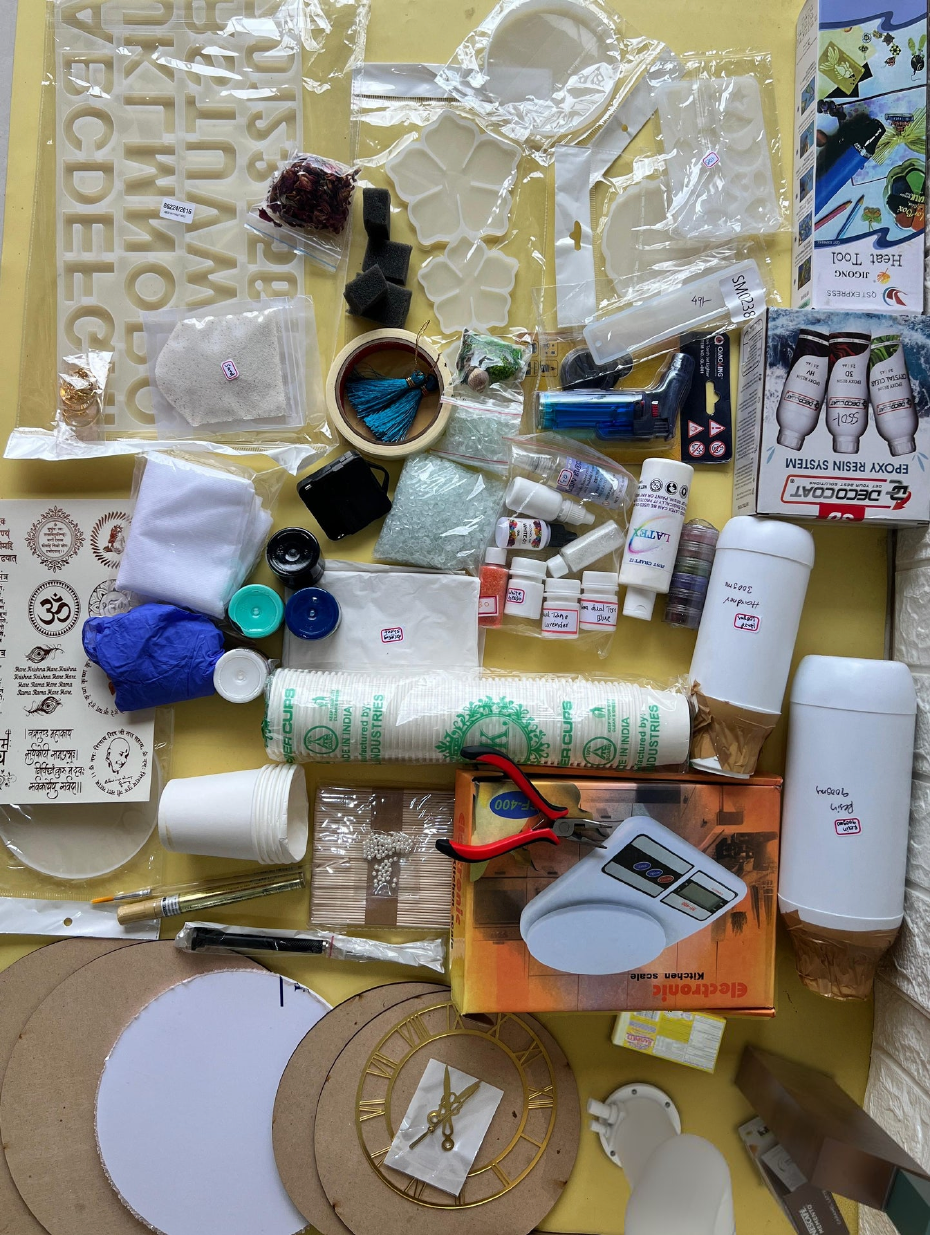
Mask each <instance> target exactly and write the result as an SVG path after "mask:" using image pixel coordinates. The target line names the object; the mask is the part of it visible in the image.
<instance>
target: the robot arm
mask: <svg viewBox="0 0 930 1235" xmlns="http://www.w3.org/2000/svg"><path fill="white" fill-rule="evenodd" d="M586 1112H587V1113H588V1114H590V1115H593V1116H596V1117H598V1120H595V1119H593V1118H591V1119H590V1121H589V1124H588V1128H589V1130H590V1131H593V1132H595V1133H598V1135H599V1139H600V1142H601V1145H602V1148H603V1149H604V1151H605V1153H606V1155H607V1157H609V1159H610V1160H611V1161H612V1162H613V1163H615V1164H616V1165H617V1166H618V1167H619V1168H621V1169H622V1171H623V1173H624V1177H625V1179H626V1182H627V1184H628V1186H629V1189H630V1194H629V1197H628V1200H627V1203H626V1207H625V1212H624V1220H623V1221H624V1223H623V1235H737V1226H736V1221H735V1211H734V1199H733V1198H734V1196H733V1187H732V1186H733V1185H732V1179H731V1178H732V1177H731V1171H730V1168H729V1165H728V1162H727V1160H726V1158H725V1156H724V1155H723V1153H722V1152H721V1151H720V1149H718V1147H717V1146H716V1145H715V1144H713V1142H711V1141H710V1140H708V1139H706V1138H704V1137H703V1136H699V1135H698V1134H697V1135H696V1134H693V1133H692V1134H691V1133H682V1132H681V1131H682V1128H681V1119H680V1115H679V1112H678V1110H677V1108H676V1105H675V1104H674V1102H673V1101H672V1099H671V1098H670V1097H669V1096H668V1095H667V1093H665V1092H664V1091H663V1090H662V1089H660V1088H658V1087H656V1086H654V1085H652V1084H649V1083H643V1082H636V1083H629V1084H626V1085H623V1086H621V1087H619V1088H618V1089H616V1090H615V1091H614V1092H612V1093H611V1094H610V1095H609V1097H608V1098H607V1099H606V1100H605V1102H604V1103H603V1102H602V1101H599V1100H597V1099H595V1098H592V1097H590V1098H589V1099H588V1100H587V1104H586Z"/></svg>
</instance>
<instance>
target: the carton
mask: <svg viewBox="0 0 930 1235" xmlns="http://www.w3.org/2000/svg"><path fill="white" fill-rule="evenodd" d="M885 1214H886V1216H887V1217H888V1219H889V1220H890V1222H891V1224H892V1225H893V1226H894V1228H895V1229H896V1231H897V1232H898V1234H899V1235H930V1182H928V1181H926V1180H924V1179H922V1178H920V1177H917V1176H915V1175H913V1174H911V1173H909V1172H906V1171H904V1170H902V1169H899V1171H898V1174H897V1178H896V1181H895V1184H894V1187H893V1190H892V1194H891V1197H890V1200H889V1203H888V1206H887V1210H886V1213H885Z"/></svg>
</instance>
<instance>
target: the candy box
mask: <svg viewBox="0 0 930 1235" xmlns="http://www.w3.org/2000/svg"><path fill="white" fill-rule="evenodd" d="M706 1012H707V1011H705V1012H683V1011H672V1012H670V1011H669V1012H668V1011H654V1012H653V1011H641V1012H619V1011H618V1012H617V1014H616V1015H617V1016H616V1019H615V1023H614V1027H613V1030H612V1032H611V1037H610V1039H611V1042H612V1044H613V1045H616V1046H620V1047H624V1048H627V1049H631V1050H634V1051H636V1052H640V1053H643V1054H646V1055H650V1056H653V1057H657V1058H659V1059H663V1060H666V1061H669V1062H673V1063H676V1064H679V1065H683V1066H685V1067H690V1068H692V1069H696V1070H699V1071H703V1072H705V1073H709V1074H712V1075H713V1074H714V1072H715V1068H716V1064H717V1059H718V1055H719V1050H720V1046H721V1044H722V1043H721V1042H722V1038H723V1034H724V1031H725V1027H726V1023H727V1019H725V1017H724V1016H721V1015H718V1014H715V1013H711V1012H709V1013H706Z"/></svg>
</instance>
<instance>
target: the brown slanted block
mask: <svg viewBox="0 0 930 1235" xmlns="http://www.w3.org/2000/svg"><path fill="white" fill-rule="evenodd" d="M733 1084H734V1085H735V1086H736V1088H737V1089H738V1090H739V1091H740V1093H741V1094H742V1095H743V1097H744V1098H745V1099H746V1101H747V1102H748V1104H750V1106H751V1107H752V1109H753V1110H754V1112H755V1113H756V1114H757V1116H759V1117H760V1118H761V1119H762V1121H763V1122H764V1123H765V1125H766V1126H767V1127H768V1128H769V1130H770V1131H771V1132H772V1134H773V1135H774V1136H775V1138H776V1139H777V1140H778V1142H779V1143H780V1144H781V1146H782V1147H783V1148H784V1150H785V1151H786V1152H787V1154H788V1155H789V1156H790V1158H791V1159H792V1160H793V1162H794V1163H795V1164H796V1166H797V1167H798V1168H799V1170H800V1171H801V1172H802V1174H803V1175H804V1176H805V1178H806V1179H807V1180H808V1182H809V1183H810V1184H811V1185H814V1186H817V1187H819V1188H822V1189H824V1190H827V1191H829V1192H831V1193H832V1194H835V1195H838V1196H840V1197H843V1198H845V1199H847V1200H851V1201H853V1202H856V1203H857V1204H861V1205H863V1206H866V1207H869V1208H870V1209H874V1210H876V1211H878V1212H881V1213H884V1214H886V1210H887V1206H888V1203H889V1200H890V1197H891V1194H892V1190H893V1187H894V1184H895V1181H896V1178H897V1174H898V1171H899V1169H902V1170H904V1171H906V1172H909V1173H911V1174H913V1175H915V1176H917V1177H920V1178H922V1179H924V1180H926V1181H928V1182H930V1173H928V1171H926V1170H925V1169H924V1168H923V1167H922V1166H921V1165H920V1164H919V1163H918V1162H917V1161H916V1160H915V1159H914V1158H913V1156H911V1155H910V1154H909V1153H908V1152H907V1151H906V1150H905V1149H904V1148H903V1146H901V1145H900V1144H899V1143H898V1142H897V1141H896V1140H895V1139H894V1138H893V1137H892V1136H891V1135H890V1134H889V1133H888V1132H887V1131H886V1130H885V1129H884V1128H883V1127H882V1125H880V1124H879V1123H877V1121H876V1120H875V1119H874V1118H873V1117H872V1116H871V1115H869V1114H868V1112H867V1111H865V1110H864V1108H862V1107H861V1105H860V1104H858V1103H857V1101H856V1100H854V1098H853V1097H852V1096H851V1095H850V1094H848V1092H846V1091H845V1090H844V1089H843V1088H842V1087H841V1086H840V1085H839V1084H838V1083H837V1082H836V1081H835V1080H834V1079H833V1078H832V1077H829V1076H826V1075H824V1074H822V1073H819V1072H816V1071H813V1070H811V1069H809V1068H806V1067H803V1066H801V1065H798V1064H796V1063H794V1062H790V1061H788V1060H785V1059H783V1058H780V1057H779V1056H775V1055H773V1054H770V1053H767V1052H765V1051H762V1050H759V1049H758V1048H754V1047H752V1046H750V1045H746V1046H745V1049H744V1052H743V1055H742V1058H741V1061H740V1064H739V1067H738V1070H737V1072H736V1076H735V1078H734V1082H733Z"/></svg>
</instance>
